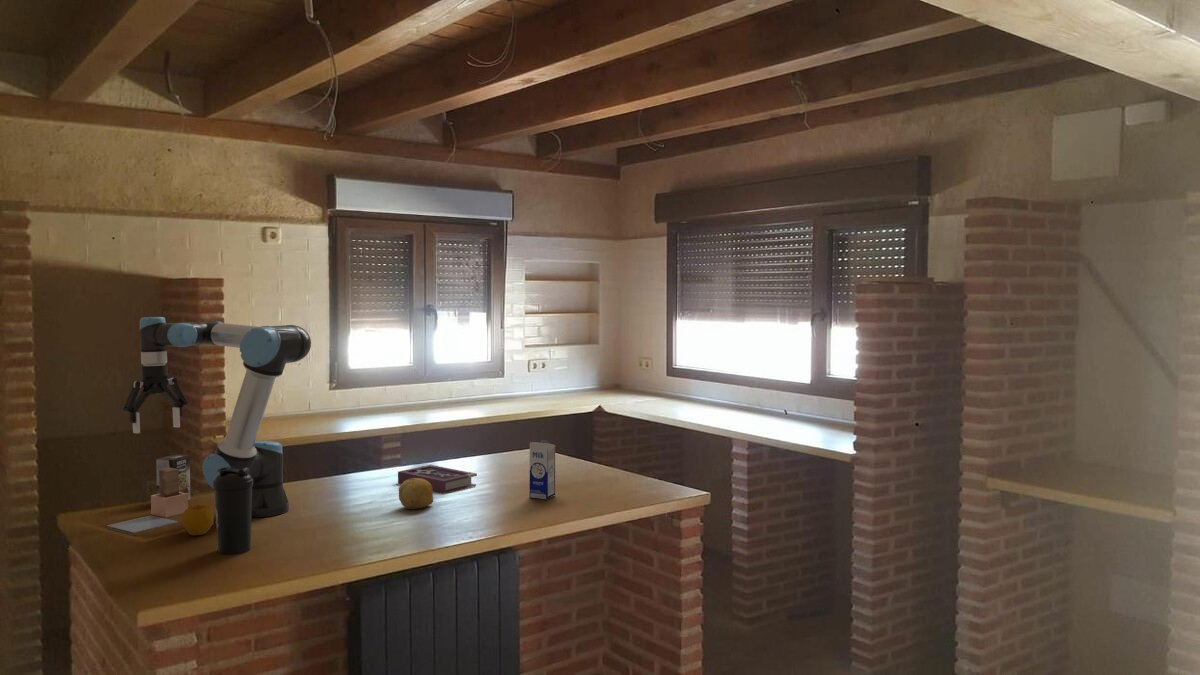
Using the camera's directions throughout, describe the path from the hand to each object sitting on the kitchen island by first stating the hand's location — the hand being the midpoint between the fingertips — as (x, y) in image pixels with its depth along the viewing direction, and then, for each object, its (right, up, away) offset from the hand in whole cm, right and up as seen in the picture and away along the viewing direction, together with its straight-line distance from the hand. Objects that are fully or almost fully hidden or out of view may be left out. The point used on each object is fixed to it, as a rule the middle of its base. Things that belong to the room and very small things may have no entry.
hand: (157, 430), depth 284 cm
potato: (+82, -27, +8) cm, 87 cm away
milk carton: (+123, -26, +24) cm, 128 cm away
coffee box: (+1, -26, +10) cm, 28 cm away
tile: (+5, -28, -18) cm, 33 cm away
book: (+83, -25, +42) cm, 96 cm away
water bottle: (+42, -29, -40) cm, 65 cm away
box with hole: (+7, -27, -5) cm, 28 cm away
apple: (+25, -28, -26) cm, 46 cm away
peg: (+7, -26, -5) cm, 27 cm away
